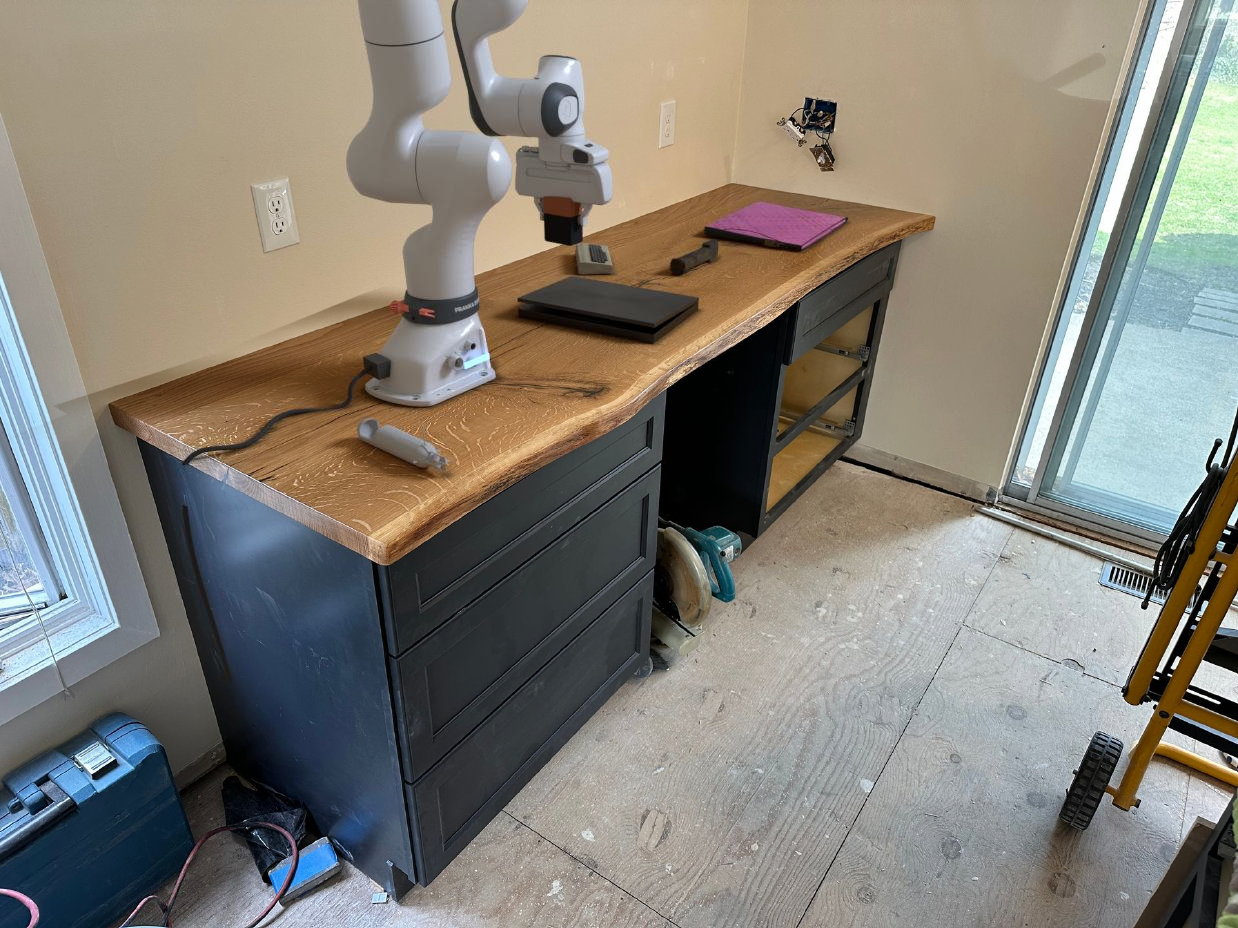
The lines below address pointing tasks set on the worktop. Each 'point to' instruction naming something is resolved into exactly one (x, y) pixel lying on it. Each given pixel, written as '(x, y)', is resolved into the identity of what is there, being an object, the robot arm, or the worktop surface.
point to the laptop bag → (775, 226)
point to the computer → (593, 259)
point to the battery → (562, 220)
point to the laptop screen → (610, 301)
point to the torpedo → (401, 444)
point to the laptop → (605, 322)
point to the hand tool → (695, 258)
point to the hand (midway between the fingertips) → (563, 223)
